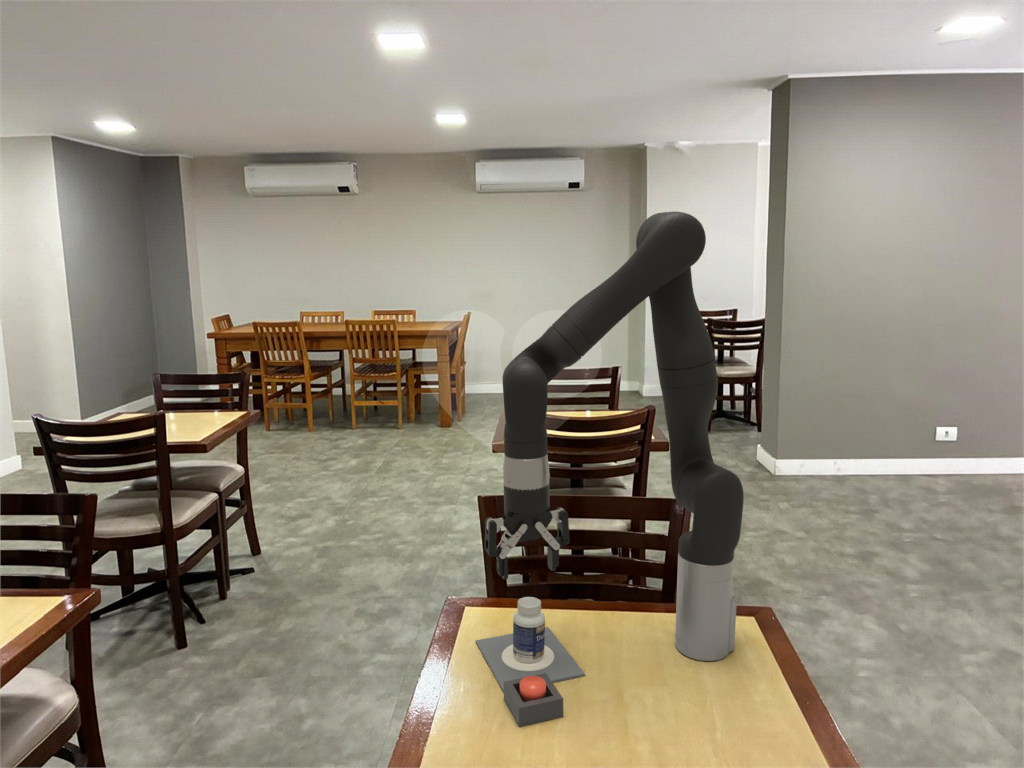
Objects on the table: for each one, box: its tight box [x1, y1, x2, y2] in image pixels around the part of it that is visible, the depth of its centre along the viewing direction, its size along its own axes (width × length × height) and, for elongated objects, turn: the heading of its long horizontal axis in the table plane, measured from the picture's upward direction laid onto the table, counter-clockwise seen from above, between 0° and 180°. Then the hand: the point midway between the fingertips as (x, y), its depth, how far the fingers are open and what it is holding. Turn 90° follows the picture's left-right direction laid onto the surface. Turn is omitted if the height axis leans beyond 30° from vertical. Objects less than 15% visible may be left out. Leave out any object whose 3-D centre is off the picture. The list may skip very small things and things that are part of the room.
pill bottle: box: [512, 596, 546, 663], centre depth 119 cm, size 5×5×10 cm
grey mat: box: [475, 626, 586, 694], centre depth 120 cm, size 14×16×1 cm
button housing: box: [503, 673, 564, 728], centre depth 107 cm, size 7×7×3 cm
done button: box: [520, 676, 546, 702], centre depth 106 cm, size 4×4×2 cm
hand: (528, 573), depth 118 cm, fingers open, 8 cm apart
